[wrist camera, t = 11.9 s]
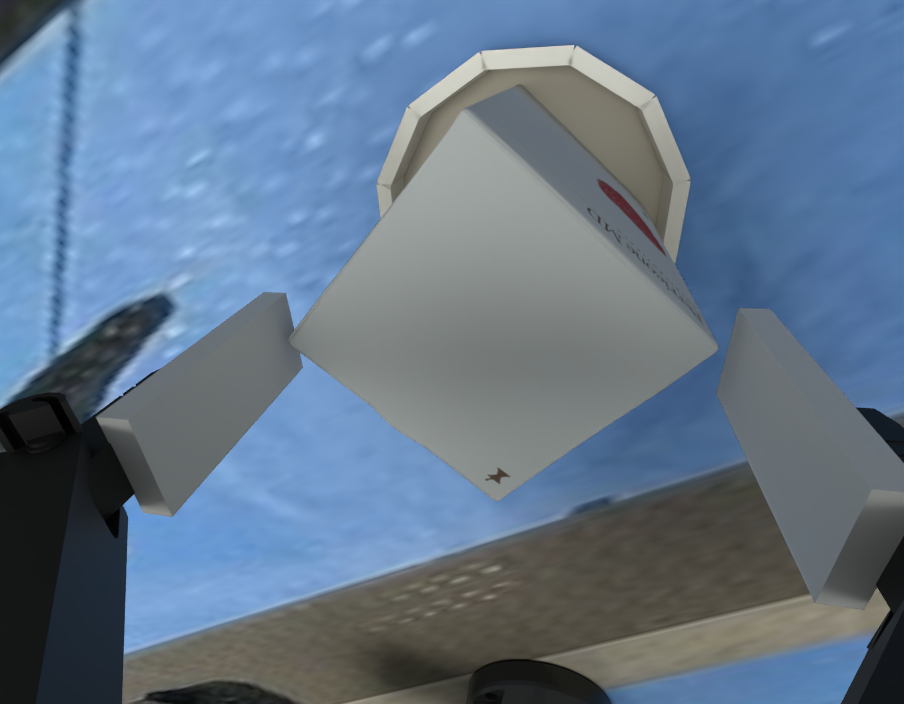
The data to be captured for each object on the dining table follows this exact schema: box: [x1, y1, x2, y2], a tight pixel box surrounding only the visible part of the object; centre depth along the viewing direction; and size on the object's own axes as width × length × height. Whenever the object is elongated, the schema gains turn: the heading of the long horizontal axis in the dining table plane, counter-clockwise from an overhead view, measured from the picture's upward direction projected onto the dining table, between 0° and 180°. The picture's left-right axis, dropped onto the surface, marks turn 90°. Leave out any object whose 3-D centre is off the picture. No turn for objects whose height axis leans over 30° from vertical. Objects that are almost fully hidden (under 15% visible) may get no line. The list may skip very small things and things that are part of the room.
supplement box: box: [288, 84, 719, 501], centre depth 20 cm, size 9×9×15 cm
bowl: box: [377, 45, 691, 263], centre depth 26 cm, size 15×15×4 cm
